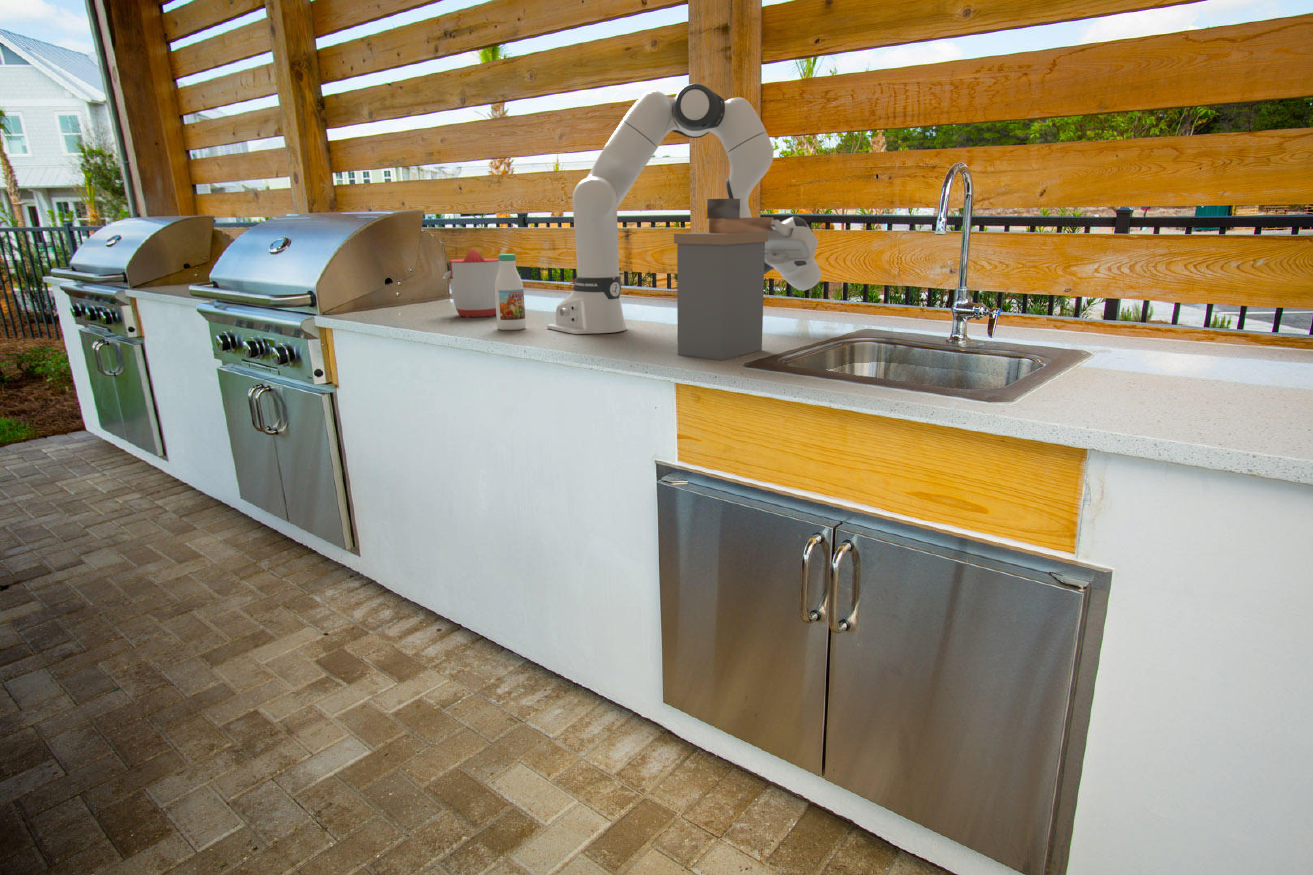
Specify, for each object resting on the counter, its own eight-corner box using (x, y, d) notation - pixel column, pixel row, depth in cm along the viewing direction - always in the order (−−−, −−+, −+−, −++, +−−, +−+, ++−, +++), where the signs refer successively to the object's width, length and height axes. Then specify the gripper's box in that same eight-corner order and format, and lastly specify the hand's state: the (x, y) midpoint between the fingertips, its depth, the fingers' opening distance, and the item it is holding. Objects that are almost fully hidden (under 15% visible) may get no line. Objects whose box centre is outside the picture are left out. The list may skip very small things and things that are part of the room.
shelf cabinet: (674, 354, 170) (674, 233, 163) (717, 344, 183) (719, 231, 175) (722, 361, 162) (724, 234, 155) (764, 349, 175) (768, 232, 167)
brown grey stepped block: (707, 233, 165) (707, 199, 163) (756, 230, 180) (757, 199, 178) (726, 233, 162) (726, 198, 160) (774, 230, 177) (775, 199, 175)
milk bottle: (491, 330, 208) (486, 254, 203) (507, 326, 215) (502, 253, 210) (516, 331, 206) (511, 255, 200) (531, 327, 212) (526, 253, 207)
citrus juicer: (445, 313, 243) (439, 249, 237) (500, 311, 248) (496, 247, 242) (447, 320, 228) (441, 251, 223) (506, 317, 233) (502, 250, 228)
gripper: (751, 238, 193) (724, 210, 182) (824, 240, 181) (801, 209, 170) (743, 261, 192) (716, 234, 181) (817, 264, 180) (793, 235, 169)
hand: (758, 222), depth 175 cm, fingers open, 7 cm apart
